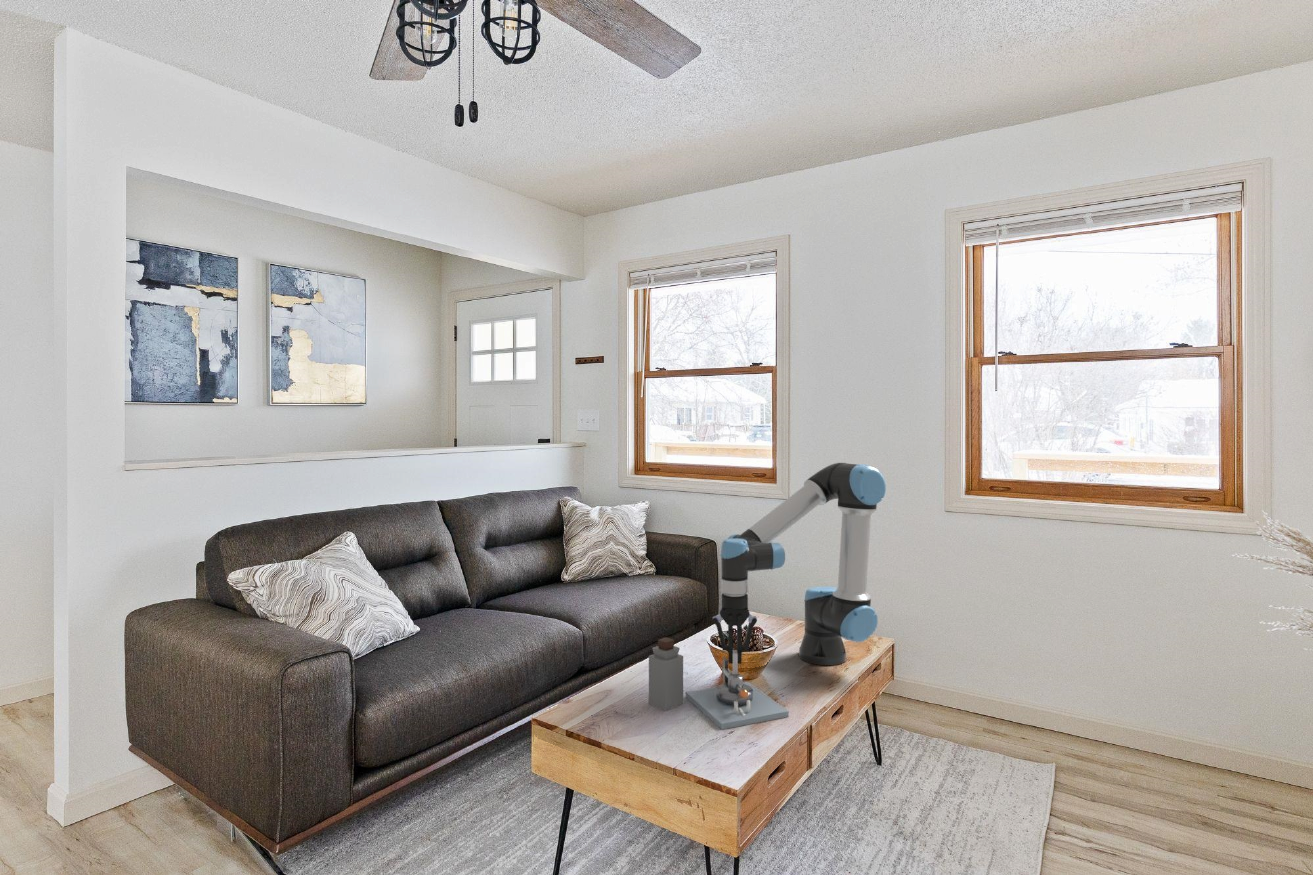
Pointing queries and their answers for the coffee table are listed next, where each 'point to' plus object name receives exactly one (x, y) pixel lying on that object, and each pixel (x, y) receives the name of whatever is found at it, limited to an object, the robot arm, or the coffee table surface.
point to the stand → (736, 708)
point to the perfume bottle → (666, 675)
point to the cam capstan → (733, 688)
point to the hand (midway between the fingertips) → (735, 674)
